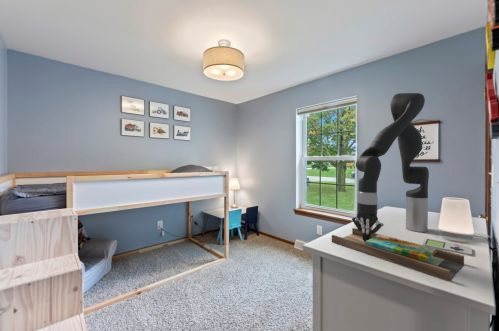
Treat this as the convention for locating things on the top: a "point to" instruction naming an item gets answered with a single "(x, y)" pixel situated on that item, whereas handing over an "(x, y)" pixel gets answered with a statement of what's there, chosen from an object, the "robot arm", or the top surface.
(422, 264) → the channel
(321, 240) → the top surface
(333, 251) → the top surface
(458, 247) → the handheld gaming console
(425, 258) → the puzzle game
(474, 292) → the top surface
